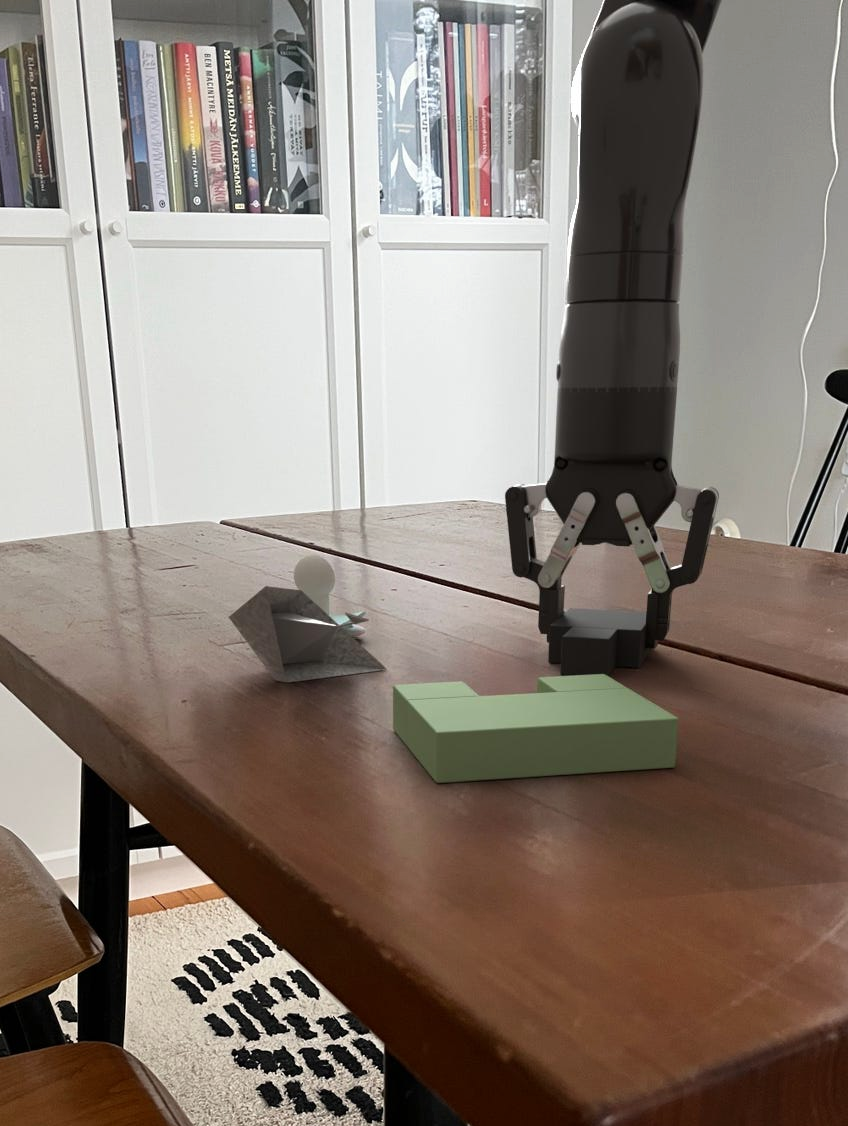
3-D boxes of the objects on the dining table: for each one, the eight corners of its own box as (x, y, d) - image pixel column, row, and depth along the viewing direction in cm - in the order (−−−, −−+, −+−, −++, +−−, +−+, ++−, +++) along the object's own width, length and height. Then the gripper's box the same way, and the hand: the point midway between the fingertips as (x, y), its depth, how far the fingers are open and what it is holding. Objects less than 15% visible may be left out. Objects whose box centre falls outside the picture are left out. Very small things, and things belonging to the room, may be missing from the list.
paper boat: (322, 636, 87) (430, 612, 82) (309, 722, 86) (419, 704, 80) (199, 558, 78) (311, 525, 73) (183, 653, 77) (296, 627, 71)
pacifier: (285, 631, 96) (259, 644, 91) (283, 547, 94) (256, 555, 89) (378, 635, 94) (357, 648, 89) (378, 550, 92) (356, 557, 87)
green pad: (602, 717, 71) (604, 673, 70) (675, 768, 61) (679, 718, 61) (392, 729, 69) (392, 684, 68) (436, 783, 59) (436, 732, 59)
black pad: (652, 648, 89) (655, 612, 88) (630, 679, 79) (633, 640, 78) (567, 643, 90) (569, 608, 90) (536, 673, 81) (538, 635, 80)
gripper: (738, 380, 81) (715, 640, 87) (519, 382, 86) (511, 628, 92) (729, 381, 75) (704, 661, 81) (492, 382, 79) (486, 648, 85)
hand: (601, 643), depth 86 cm, fingers closed on black pad, 6 cm apart
